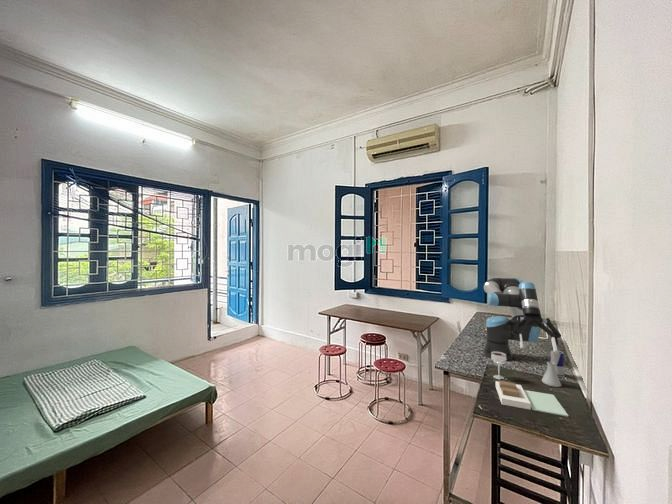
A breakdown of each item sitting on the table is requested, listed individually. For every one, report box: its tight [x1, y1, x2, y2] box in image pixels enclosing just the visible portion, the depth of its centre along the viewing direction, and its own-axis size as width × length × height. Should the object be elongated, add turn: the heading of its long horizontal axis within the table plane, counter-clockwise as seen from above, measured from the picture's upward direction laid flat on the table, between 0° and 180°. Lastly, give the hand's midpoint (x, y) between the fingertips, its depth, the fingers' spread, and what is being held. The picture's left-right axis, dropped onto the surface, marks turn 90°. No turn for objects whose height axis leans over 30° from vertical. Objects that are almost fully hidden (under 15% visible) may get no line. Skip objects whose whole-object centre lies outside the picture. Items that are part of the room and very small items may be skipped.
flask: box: [541, 361, 563, 388], centre depth 127 cm, size 7×7×10 cm
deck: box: [495, 380, 532, 410], centre depth 116 cm, size 16×10×2 cm, turn 157°
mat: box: [523, 389, 569, 418], centre depth 112 cm, size 16×12×1 cm
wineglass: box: [490, 351, 508, 380], centre depth 134 cm, size 7×7×12 cm
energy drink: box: [550, 349, 565, 378], centre depth 136 cm, size 5×5×12 cm
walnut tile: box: [498, 380, 520, 398], centre depth 116 cm, size 9×6×2 cm, turn 157°
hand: (538, 349), depth 130 cm, fingers open, 13 cm apart
